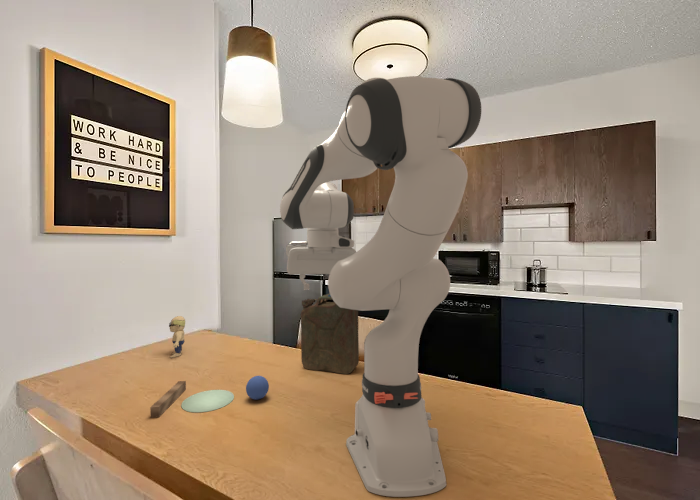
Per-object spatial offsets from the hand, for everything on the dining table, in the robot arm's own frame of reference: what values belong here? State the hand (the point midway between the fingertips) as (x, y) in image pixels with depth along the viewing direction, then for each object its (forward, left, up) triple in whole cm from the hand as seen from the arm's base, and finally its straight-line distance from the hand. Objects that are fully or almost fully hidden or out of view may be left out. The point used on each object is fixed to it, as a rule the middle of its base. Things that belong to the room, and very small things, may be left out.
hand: (323, 290), depth 96 cm
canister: (+18, -2, -29) cm, 34 cm away
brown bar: (-3, +41, -29) cm, 50 cm away
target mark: (-3, +31, -29) cm, 42 cm away
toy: (+38, +56, -29) cm, 74 cm away
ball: (-3, +18, -26) cm, 32 cm away
